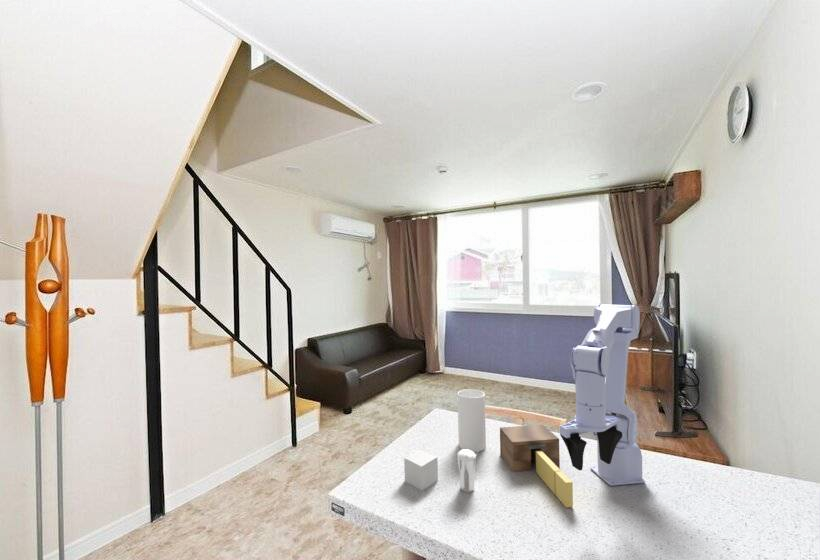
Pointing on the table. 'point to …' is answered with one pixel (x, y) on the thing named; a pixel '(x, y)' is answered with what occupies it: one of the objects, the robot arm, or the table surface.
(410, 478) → the white cube
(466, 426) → the cup
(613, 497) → the table surface
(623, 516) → the table surface
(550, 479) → the ticket
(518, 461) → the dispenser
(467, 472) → the milkshake
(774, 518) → the table surface
